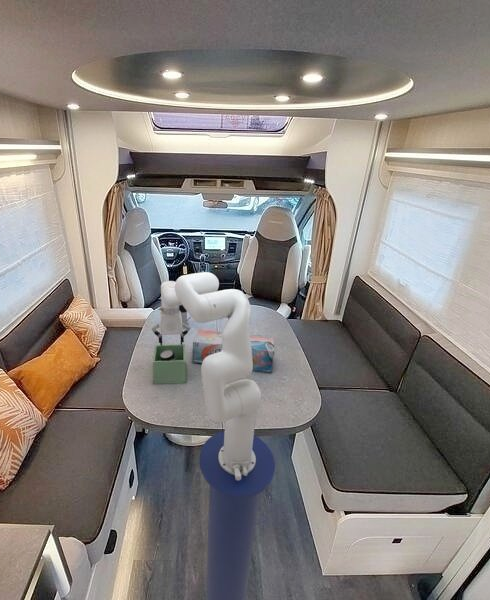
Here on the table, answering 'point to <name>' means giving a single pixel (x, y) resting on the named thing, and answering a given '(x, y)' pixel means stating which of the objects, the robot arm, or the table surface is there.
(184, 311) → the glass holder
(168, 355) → the beverage can
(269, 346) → the soda box
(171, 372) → the trash bin
